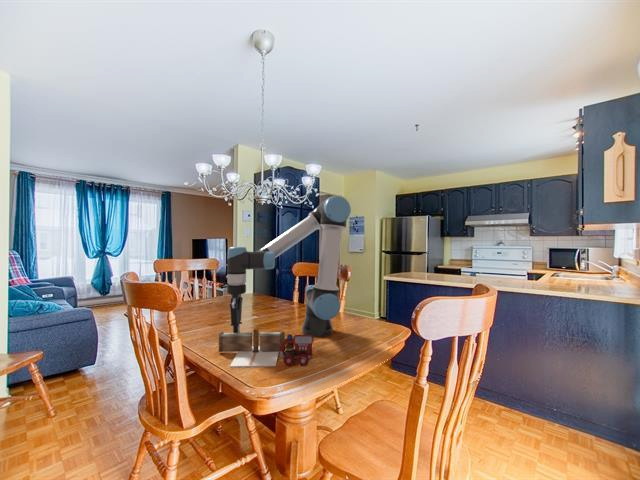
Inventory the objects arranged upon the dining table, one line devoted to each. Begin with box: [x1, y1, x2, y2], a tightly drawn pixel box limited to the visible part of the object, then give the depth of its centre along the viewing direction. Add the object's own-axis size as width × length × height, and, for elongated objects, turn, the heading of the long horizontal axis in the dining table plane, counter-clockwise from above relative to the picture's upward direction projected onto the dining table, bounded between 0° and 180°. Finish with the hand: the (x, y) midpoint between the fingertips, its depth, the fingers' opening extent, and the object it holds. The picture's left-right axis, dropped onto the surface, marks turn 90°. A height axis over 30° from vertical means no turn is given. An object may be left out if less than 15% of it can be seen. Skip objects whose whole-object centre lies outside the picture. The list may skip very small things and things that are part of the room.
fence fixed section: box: [252, 328, 286, 352], centre depth 115 cm, size 12×2×9 cm, turn 94°
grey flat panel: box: [218, 331, 253, 353], centre depth 114 cm, size 13×2×7 cm, turn 94°
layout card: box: [229, 345, 279, 368], centre depth 111 cm, size 16×19×1 cm
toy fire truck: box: [278, 333, 314, 367], centre depth 105 cm, size 7×12×10 cm, turn 87°
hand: (236, 340), depth 119 cm, fingers closed
